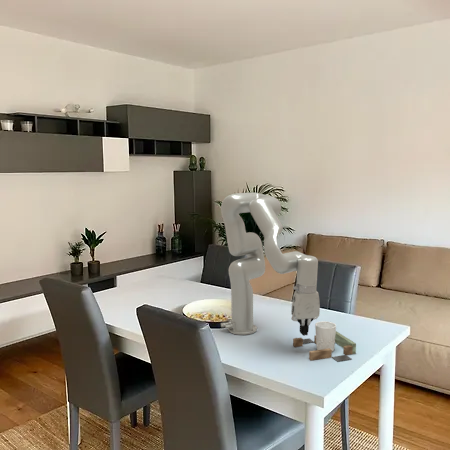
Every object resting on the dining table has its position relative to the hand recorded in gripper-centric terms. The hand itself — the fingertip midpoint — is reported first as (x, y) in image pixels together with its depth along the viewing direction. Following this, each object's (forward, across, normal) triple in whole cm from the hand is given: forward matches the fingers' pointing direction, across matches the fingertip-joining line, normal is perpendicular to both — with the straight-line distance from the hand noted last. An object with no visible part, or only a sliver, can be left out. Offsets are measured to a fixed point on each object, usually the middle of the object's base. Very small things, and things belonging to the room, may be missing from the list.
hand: (303, 334), depth 178 cm
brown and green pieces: (+7, +8, -2) cm, 10 cm away
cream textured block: (+7, +9, -2) cm, 11 cm away
